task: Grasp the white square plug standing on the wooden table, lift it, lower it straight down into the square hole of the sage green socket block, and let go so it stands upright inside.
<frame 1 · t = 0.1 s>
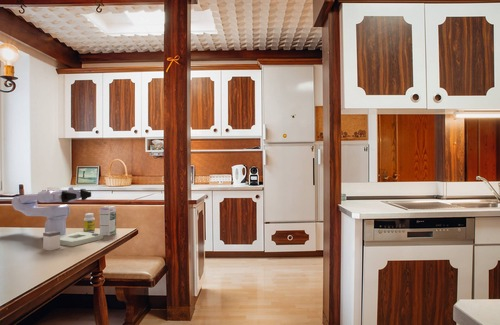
hand: (83, 195, 150), 22 cm above the table, tool horizontal, fingers open, 7 cm apart
socket block: (76, 240, 150), on the table
plug: (51, 248, 136), on the table
supplement bottle: (89, 232, 168), on the table
syrup box: (107, 234, 164), on the table
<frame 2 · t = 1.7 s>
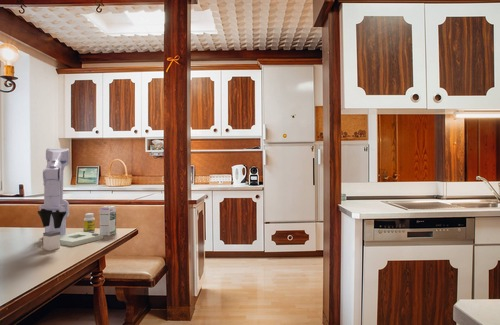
hand: (51, 227, 136), 9 cm above the table, tool pointing down, fingers open, 7 cm apart
nothing on the table moved.
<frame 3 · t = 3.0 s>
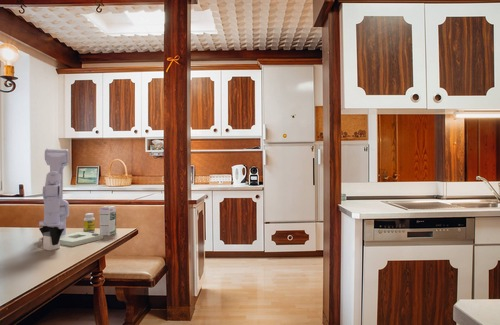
hand: (51, 243, 136), 2 cm above the table, tool pointing down, fingers closed on plug, 4 cm apart
plug: (51, 248, 136), on the table, touching gripper
everything else where it was.
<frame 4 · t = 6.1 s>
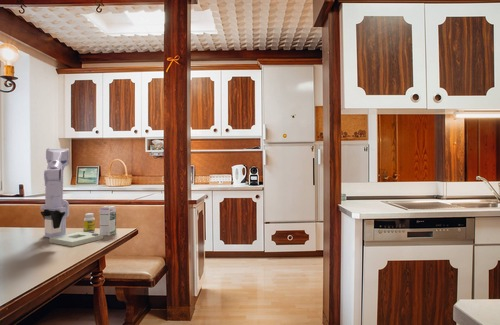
hand: (52, 227, 137), 9 cm above the table, tool pointing down, fingers closed on plug, 4 cm apart
plug: (52, 232, 137), point 7 cm above the table, touching gripper
everything else where it was.
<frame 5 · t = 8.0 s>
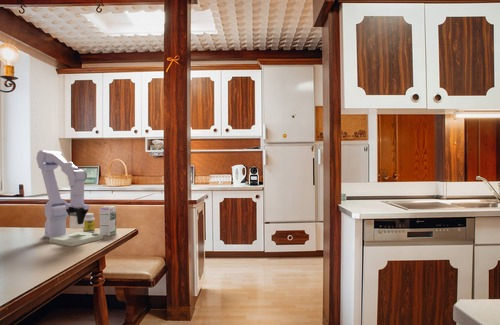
hand: (77, 223, 150), 8 cm above the table, tool pointing down, fingers closed on plug, 4 cm apart
plug: (77, 227, 150), point 6 cm above the table, touching gripper
everything else where it was.
when the fingers open (3 cm above the table, at t = 9.5 s): plug drops 1 cm, resting in socket block.
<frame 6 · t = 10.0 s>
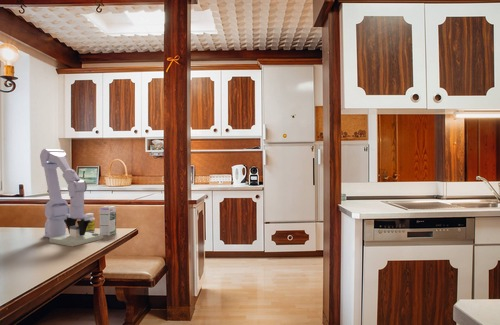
hand: (76, 234, 150), 3 cm above the table, tool pointing down, fingers open, 7 cm apart
plug: (77, 240, 150), resting in socket block
everything else where it was.
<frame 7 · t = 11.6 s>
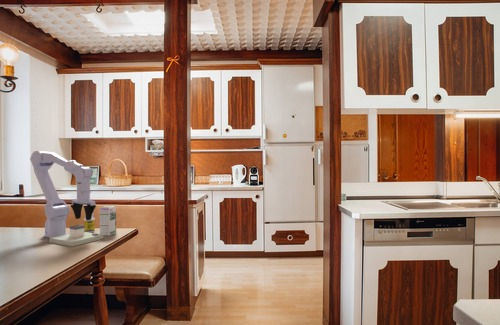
hand: (83, 219, 154), 9 cm above the table, tool pointing down, fingers open, 7 cm apart
nothing on the table moved.
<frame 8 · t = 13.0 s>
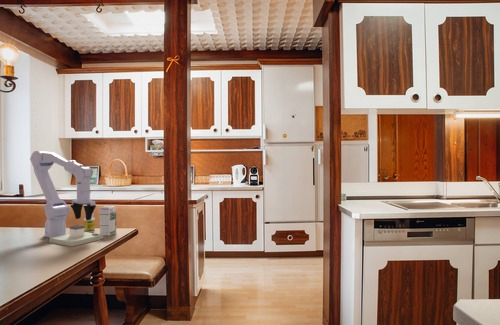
hand: (83, 219, 154), 9 cm above the table, tool pointing down, fingers open, 7 cm apart
nothing on the table moved.
at the end: plug 0.0 cm off-centre on the socket block, point 0.0 cm above the socket block's base; plug tilted 0°; the gripper is holding nothing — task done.
